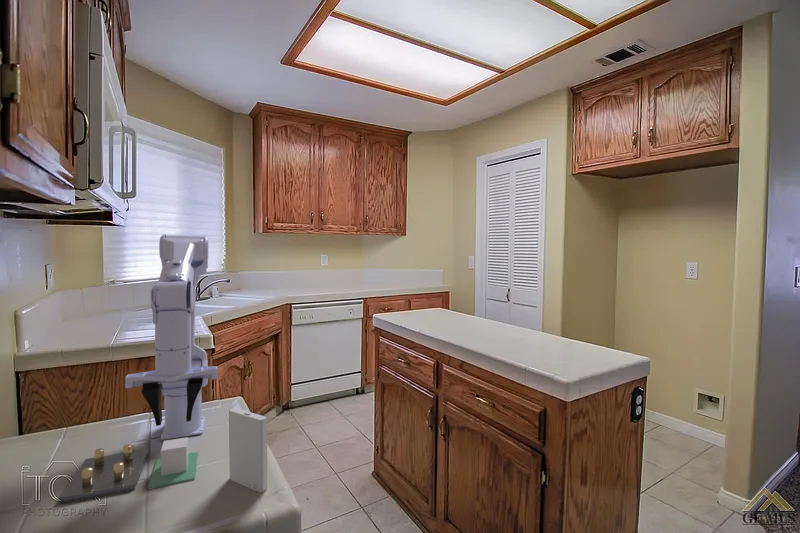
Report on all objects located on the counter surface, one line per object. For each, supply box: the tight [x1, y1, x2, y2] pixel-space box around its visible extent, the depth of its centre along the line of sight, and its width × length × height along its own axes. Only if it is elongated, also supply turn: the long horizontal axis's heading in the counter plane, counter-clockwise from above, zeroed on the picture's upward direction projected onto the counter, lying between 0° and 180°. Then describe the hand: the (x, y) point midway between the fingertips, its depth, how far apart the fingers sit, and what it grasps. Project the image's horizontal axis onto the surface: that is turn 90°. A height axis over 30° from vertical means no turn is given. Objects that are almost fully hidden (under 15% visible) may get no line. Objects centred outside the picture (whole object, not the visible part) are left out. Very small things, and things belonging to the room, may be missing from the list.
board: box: [147, 436, 199, 490], centre depth 74 cm, size 10×7×5 cm
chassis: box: [59, 443, 149, 505], centre depth 72 cm, size 13×10×4 cm
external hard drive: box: [228, 407, 268, 493], centre depth 70 cm, size 2×8×12 cm, turn 60°
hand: (174, 421), depth 74 cm, fingers open, 4 cm apart
